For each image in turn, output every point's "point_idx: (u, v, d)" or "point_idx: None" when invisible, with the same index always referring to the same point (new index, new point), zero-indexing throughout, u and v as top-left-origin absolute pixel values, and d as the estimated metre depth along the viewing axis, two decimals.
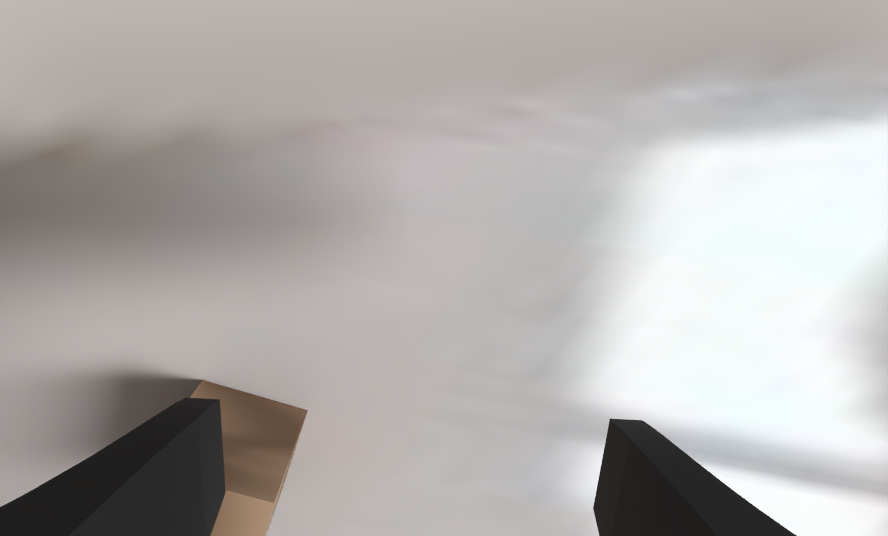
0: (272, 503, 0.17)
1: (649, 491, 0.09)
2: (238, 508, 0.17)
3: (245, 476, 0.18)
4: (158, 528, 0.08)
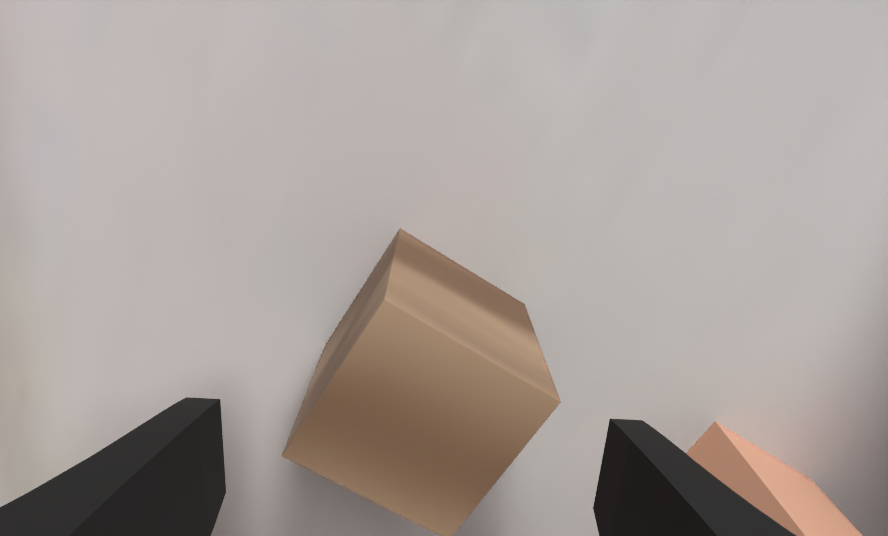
0: (384, 302, 0.11)
1: (649, 491, 0.09)
2: (382, 353, 0.11)
3: (358, 328, 0.12)
4: (159, 528, 0.08)
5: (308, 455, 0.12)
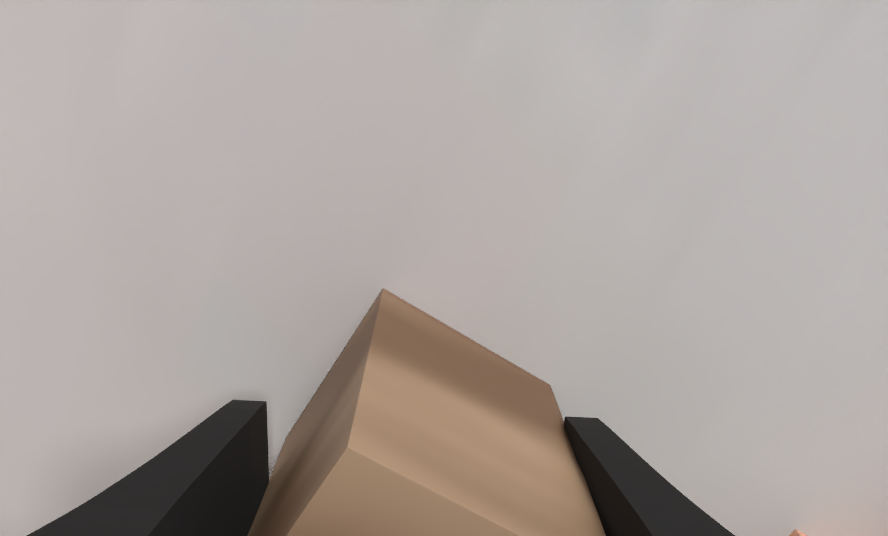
0: (347, 451, 0.07)
1: (596, 488, 0.09)
2: (345, 525, 0.07)
3: (313, 472, 0.08)
4: (216, 531, 0.08)
5: None
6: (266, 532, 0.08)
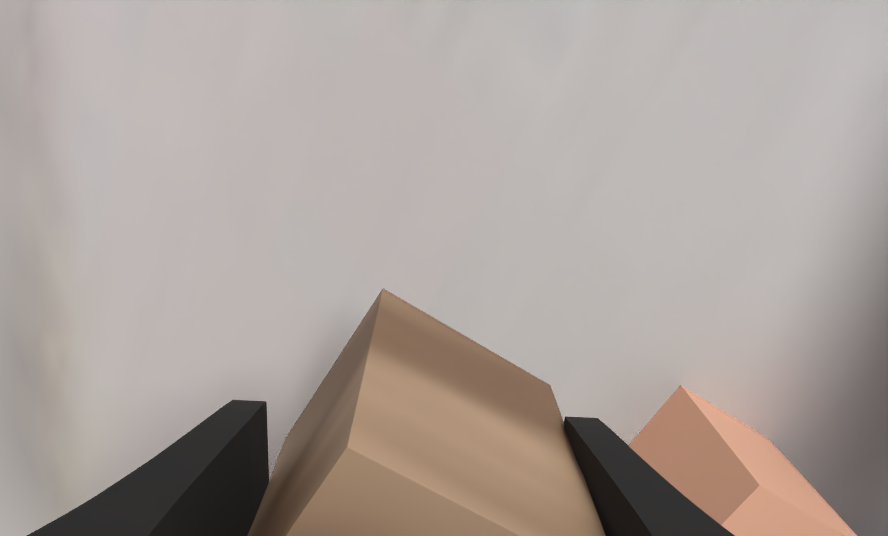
0: (347, 451, 0.07)
1: (596, 488, 0.09)
2: (345, 524, 0.07)
3: (312, 472, 0.08)
4: (216, 531, 0.08)
5: None
6: (266, 532, 0.08)
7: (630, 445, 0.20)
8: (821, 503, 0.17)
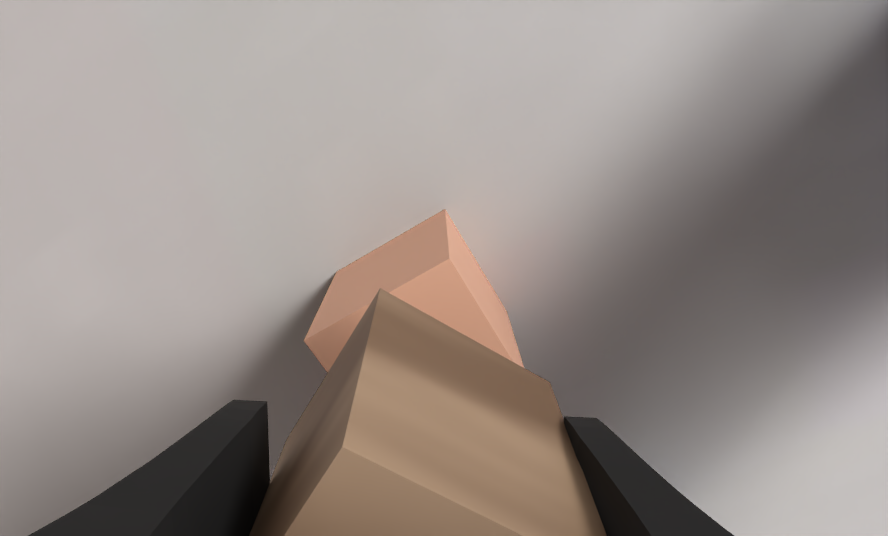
0: (342, 450, 0.07)
1: (595, 488, 0.09)
2: (343, 524, 0.07)
3: (310, 472, 0.08)
4: (217, 531, 0.08)
5: None
6: (265, 533, 0.08)
7: (369, 253, 0.18)
8: (512, 346, 0.16)
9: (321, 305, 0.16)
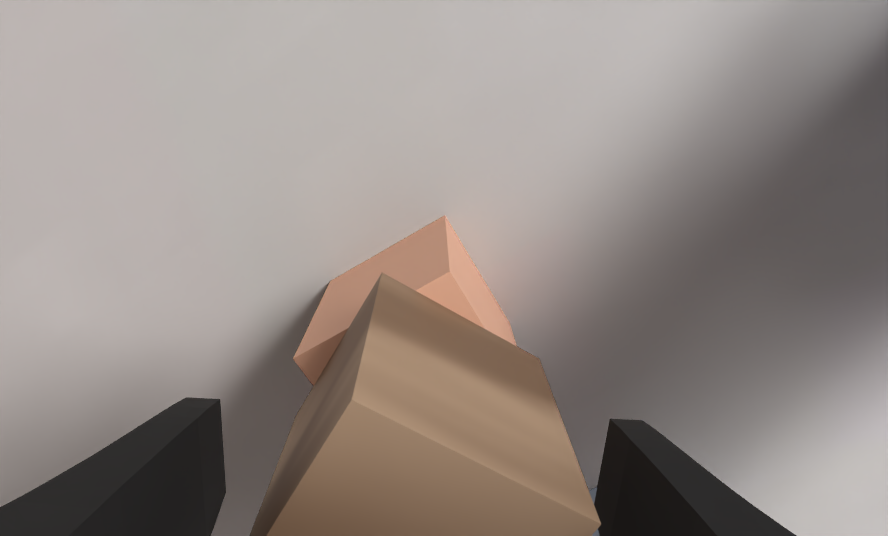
0: (351, 403, 0.08)
1: (649, 491, 0.09)
2: (352, 469, 0.08)
3: (322, 428, 0.09)
4: (159, 528, 0.08)
5: None
6: (282, 486, 0.09)
7: (365, 261, 0.17)
8: None
9: (313, 318, 0.15)
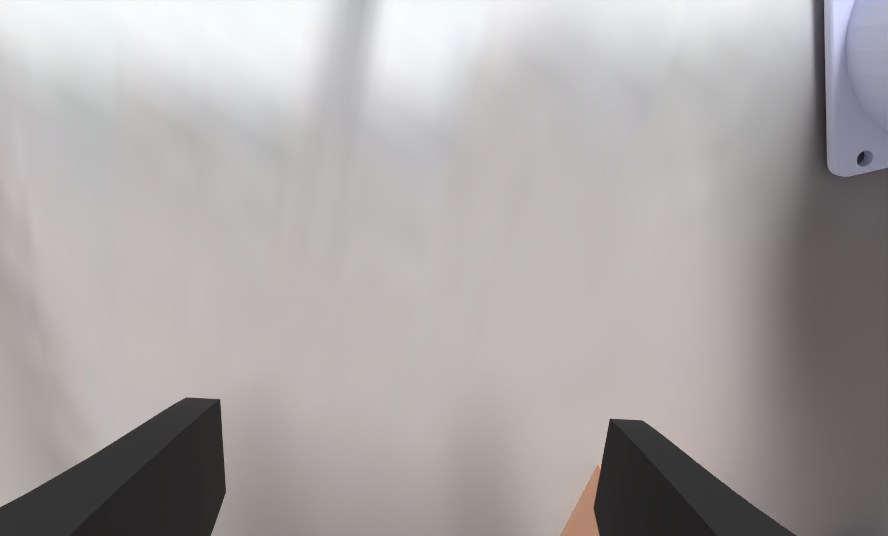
0: None
1: (649, 491, 0.09)
2: None
3: None
4: (159, 528, 0.08)
5: None
6: None
7: (571, 517, 0.24)
8: None
9: None
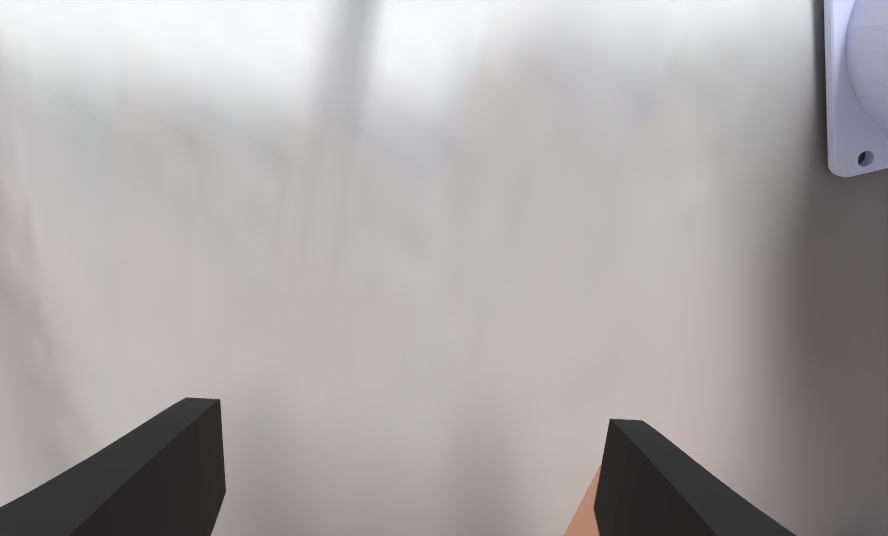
0: None
1: (649, 491, 0.09)
2: None
3: None
4: (159, 528, 0.08)
5: None
6: None
7: (574, 518, 0.24)
8: None
9: None
